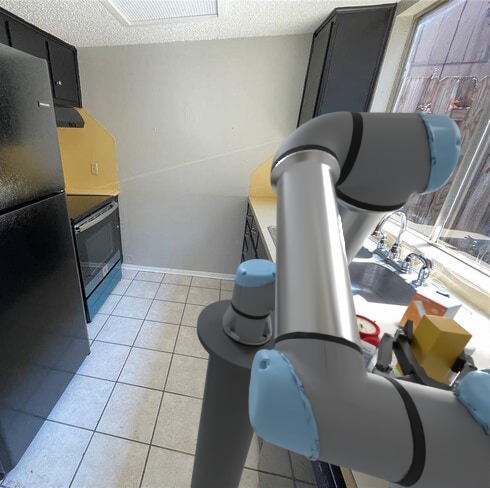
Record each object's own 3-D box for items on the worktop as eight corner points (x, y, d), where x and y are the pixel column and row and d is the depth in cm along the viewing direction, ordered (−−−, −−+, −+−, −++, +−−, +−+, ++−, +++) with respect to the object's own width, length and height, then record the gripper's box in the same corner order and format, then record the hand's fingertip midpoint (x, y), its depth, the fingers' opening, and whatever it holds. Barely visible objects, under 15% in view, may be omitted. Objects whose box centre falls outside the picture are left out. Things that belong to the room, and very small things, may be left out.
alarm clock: (382, 320, 79) (388, 340, 67) (374, 338, 80) (379, 360, 68) (342, 307, 84) (341, 322, 72) (336, 324, 86) (334, 342, 74)
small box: (397, 325, 83) (414, 291, 77) (411, 321, 85) (428, 288, 79) (427, 343, 76) (448, 307, 70) (441, 339, 78) (463, 304, 72)
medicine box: (364, 371, 66) (377, 346, 62) (360, 382, 63) (373, 356, 59) (330, 353, 71) (340, 329, 67) (325, 362, 68) (335, 337, 65)
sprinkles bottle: (452, 393, 61) (482, 351, 56) (430, 389, 62) (458, 347, 56) (438, 376, 65) (465, 336, 60) (417, 373, 66) (442, 332, 61)
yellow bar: (394, 366, 47) (423, 314, 42) (419, 371, 46) (451, 318, 42) (408, 385, 44) (441, 330, 39) (436, 391, 43) (473, 335, 38)
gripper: (337, 404, 37) (360, 325, 53) (545, 527, 26) (496, 380, 42) (354, 367, 34) (374, 295, 50) (599, 488, 23) (524, 345, 39)
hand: (429, 334), depth 46 cm, fingers closed on yellow bar, 5 cm apart
